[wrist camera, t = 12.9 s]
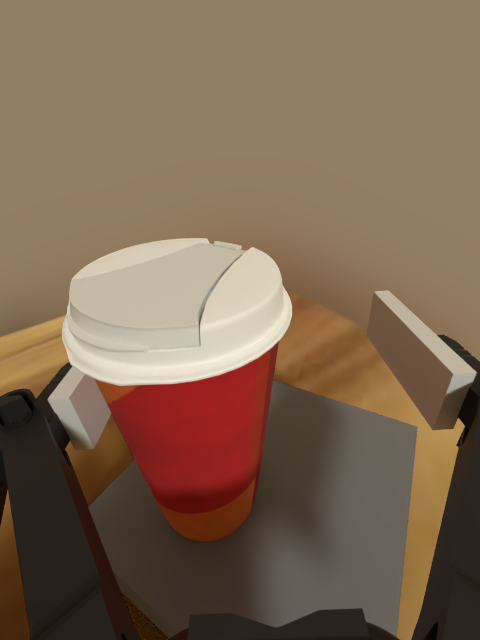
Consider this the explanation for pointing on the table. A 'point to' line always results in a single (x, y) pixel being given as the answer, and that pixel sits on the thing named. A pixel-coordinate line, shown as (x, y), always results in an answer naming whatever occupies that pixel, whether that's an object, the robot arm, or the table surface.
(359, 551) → the base block
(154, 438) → the paper cup
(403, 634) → the table surface
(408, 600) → the table surface
